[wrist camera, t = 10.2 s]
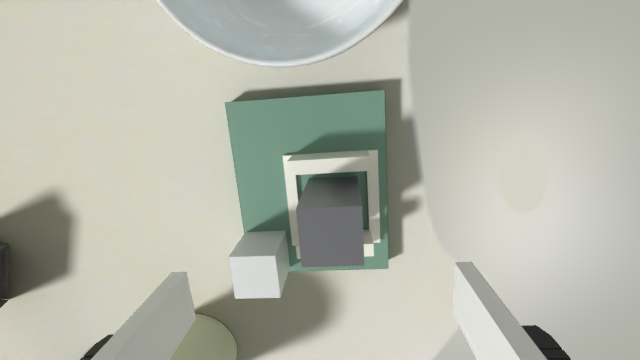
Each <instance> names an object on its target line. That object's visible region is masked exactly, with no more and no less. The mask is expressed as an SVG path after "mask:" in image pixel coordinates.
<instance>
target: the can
mask: <svg viewBox="0 0 640 360" xmlns="http://www.w3.org/2000/svg"><path fill="white" fill-rule="evenodd" d="M195 315H196V319H195V321H194V322H193V324H192V326H191V327H190V329H189V330H188V332H187V334H186V335H185V337H184V338H183V340H182V341H181V343H180V345H179V346H178V348H177V349H176V351H175V353H174V354H173V356H172V357H171V359H170V360H236V358H237V345H236V341H235V339H234V337H233V335H232V334H231V332H230V331H229V330H228V328H226V327H225V326H224V325H223V324H222V323H221V322H219V321H218V320H216V319H214V318H212V317H209V316H206V315H202V314H195Z"/></svg>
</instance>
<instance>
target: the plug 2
mask: <svg viewBox="0 0 640 360" xmlns="http://www.w3.org/2000/svg"><path fill="white" fill-rule="evenodd" d="M296 215H297V225H298V235H299V246H300V256H301V266H302V267H338V266H365V265H364V241H363V216H362V202H361V196H360V190H359V184H358V178H357V176H351V177H332V178H313V179H308V181H307V183H306V186H305V188H304V191H303V193H302V195H301V198H300V200H299V203H298V205H297V207H296Z"/></svg>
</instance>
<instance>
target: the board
mask: <svg viewBox="0 0 640 360" xmlns="http://www.w3.org/2000/svg"><path fill="white" fill-rule="evenodd" d="M225 107H226V114H227V120H228V127H229V134H230V140H231V147H232V154H233V161H234V167H235V174H236V181H237V188H238V194H239V201H240V208H241V215H242V221H243V228H244V234H245V233H246V232H261V231H286V236H287V245H288V254H289V263H290V269H289V271H324V270H359V269H388V226H387V180H386V135H385V90H378V91H365V92H352V93H339V94H327V95H314V96H301V97H288V98H275V99H263V100H250V101H237V102H225ZM351 176H357V178H358V184H359V190H360V196H361V202H362V216H363V241H364V265H365V266H338V267H302V266H301V256H300V246H299V235H298V225H297V215H296V207H297V205H298V203H299V200H300V198H301V195H302V193H303V191H304V188H305V186H306V183H307V181H308V179H313V178H332V177H351Z"/></svg>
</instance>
